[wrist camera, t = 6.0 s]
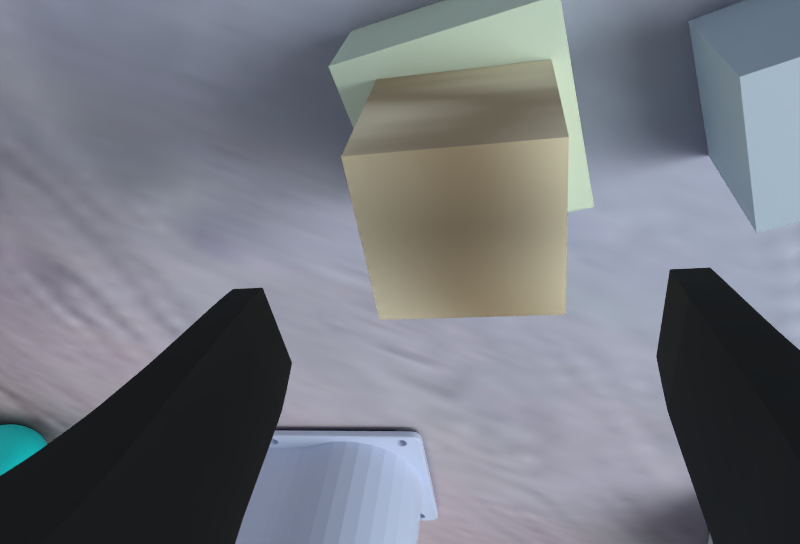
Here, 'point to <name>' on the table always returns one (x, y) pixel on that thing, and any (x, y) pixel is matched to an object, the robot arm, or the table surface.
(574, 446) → the table surface
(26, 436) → the donuts
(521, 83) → the beech cube
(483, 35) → the pale green block
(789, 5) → the slate cube
